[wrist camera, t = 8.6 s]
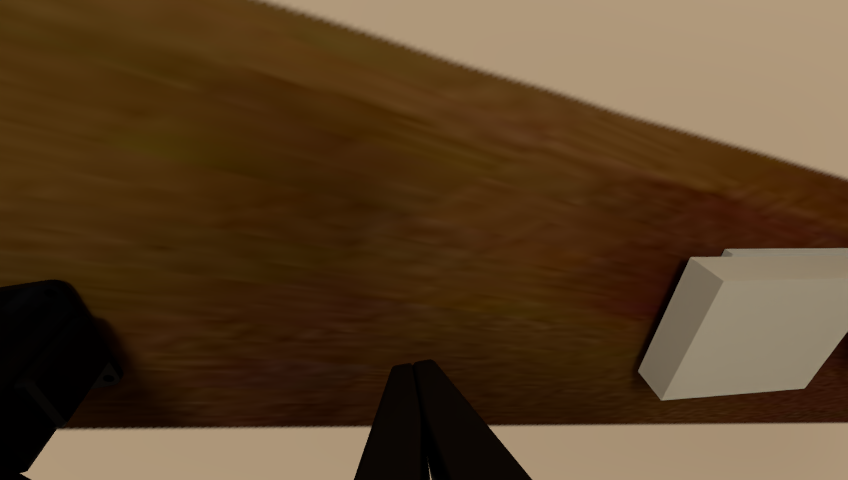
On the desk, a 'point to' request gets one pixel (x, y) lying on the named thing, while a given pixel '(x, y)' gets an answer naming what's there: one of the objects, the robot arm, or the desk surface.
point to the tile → (748, 325)
